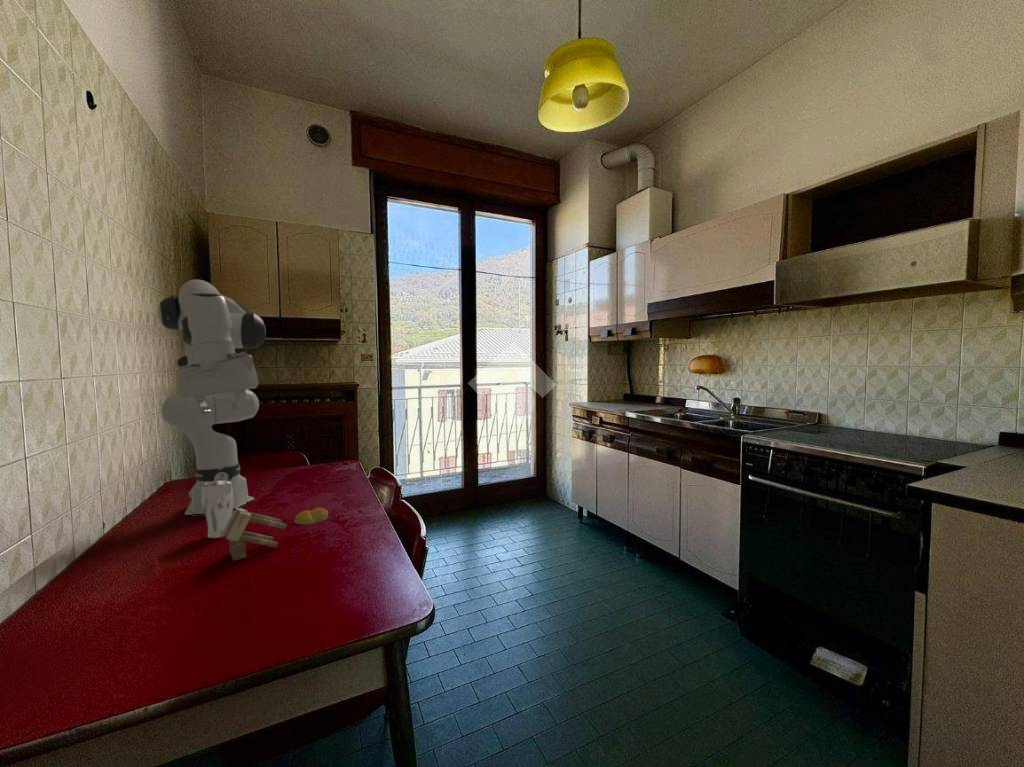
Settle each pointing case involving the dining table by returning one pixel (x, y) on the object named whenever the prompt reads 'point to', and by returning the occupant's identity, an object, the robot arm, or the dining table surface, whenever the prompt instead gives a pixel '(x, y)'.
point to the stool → (240, 521)
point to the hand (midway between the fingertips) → (221, 411)
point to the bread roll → (311, 516)
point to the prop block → (237, 549)
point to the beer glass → (217, 505)
